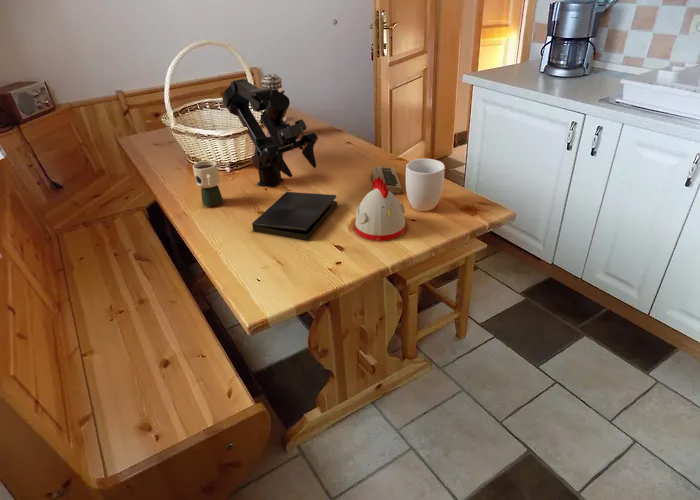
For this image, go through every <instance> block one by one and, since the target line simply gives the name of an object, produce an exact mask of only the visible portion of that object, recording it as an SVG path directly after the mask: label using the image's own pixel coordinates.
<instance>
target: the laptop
mask: <svg viewBox="0 0 700 500" xmlns="http://www.w3.org/2000/svg"><path fill="white" fill-rule="evenodd" d="M337 207H338V200H333V202H332V203H331V204H330V205H329V206H328V207H327V208H326V209H325V211H324V212H323V213H322V214H321V215H320V216H319V217H318V218H317V220H316V221H315V222H314V223H313V224H312V225H311V226H310V227H309V229H308V230H307V231H303V230H293V229H283V228H273V227H263V226H251V227H252V232H255V233H260V234H267V235H271V236H277V237H282V238H283V237H284V238H287V239H295V240H300V241H306V242H308V241H309V240H310V239H311V238H312V237H313V235H314V234H315V233H316V232H317V231H318V230H319V229H320V228H321V226H322V225H323V224H324V223H325V221H326V220H327V219H328V218H329V217H330V216H331V214H332V213H333V212H334V211H335V210H336V208H337Z"/></svg>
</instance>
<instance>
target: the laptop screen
mask: <svg viewBox="0 0 700 500" xmlns="http://www.w3.org/2000/svg"><path fill="white" fill-rule="evenodd" d="M336 198H337V195H336V194H327V193H311V192H310V193H309V192H296V191H295V192H294V191H285V193H284V194H283V195H281V196H280V197H279V198H278V199H277V200H276V201H275V202H273V204H271V206H269V207H268V208H267V209H266V210H265V211H264V212H263V213H261V215H259V216H258V217H257V218H256V219H255V220H254V221H252V223H251V225H252V226H263V227H273V228H283V229H293V230H303V231H307V230H308V229H309V227H310V226H311V225H312V224H313V223H314V222H315V221H316V220H317V218H318V217H319V216H320V215H321V214H322V213H323V212H324V211H325V209H326V208H327V207H328V206H329V205H330V204H331V203H332V202H333V201H335V200H336ZM252 226H251V227H252Z"/></svg>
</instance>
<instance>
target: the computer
mask: <svg viewBox="0 0 700 500" xmlns="http://www.w3.org/2000/svg"><path fill="white" fill-rule="evenodd" d="M371 175H372V181H374V179H377V178H378V177H380V178H381V179H383V183H386V189H389V191H390V192H391V193H393V194H402V191H403V187H402V185H401V183H400V179H399V176H398V174H397V171H396V168H395V167H391V166H389V167H388V166H373V167H372V170H371Z"/></svg>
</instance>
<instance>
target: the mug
mask: <svg viewBox="0 0 700 500" xmlns="http://www.w3.org/2000/svg"><path fill="white" fill-rule="evenodd" d="M445 170H446V167H445V164H444V163H443V162H442V161H440V160H437V159H433V158H416V159H413V160H412V159H411V160H410V161H408V162H407V163H406V165H405V191H406V197H407V200H408V202H409V205H410V206H411V207H412V209H414V210H415V211H420V212H429V211H430V212H431V211H432V210H433V209H435V208H436V207H437V205H438V204H439V202H440V199H441V197H442V192H443V189H444V182H445Z"/></svg>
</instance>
